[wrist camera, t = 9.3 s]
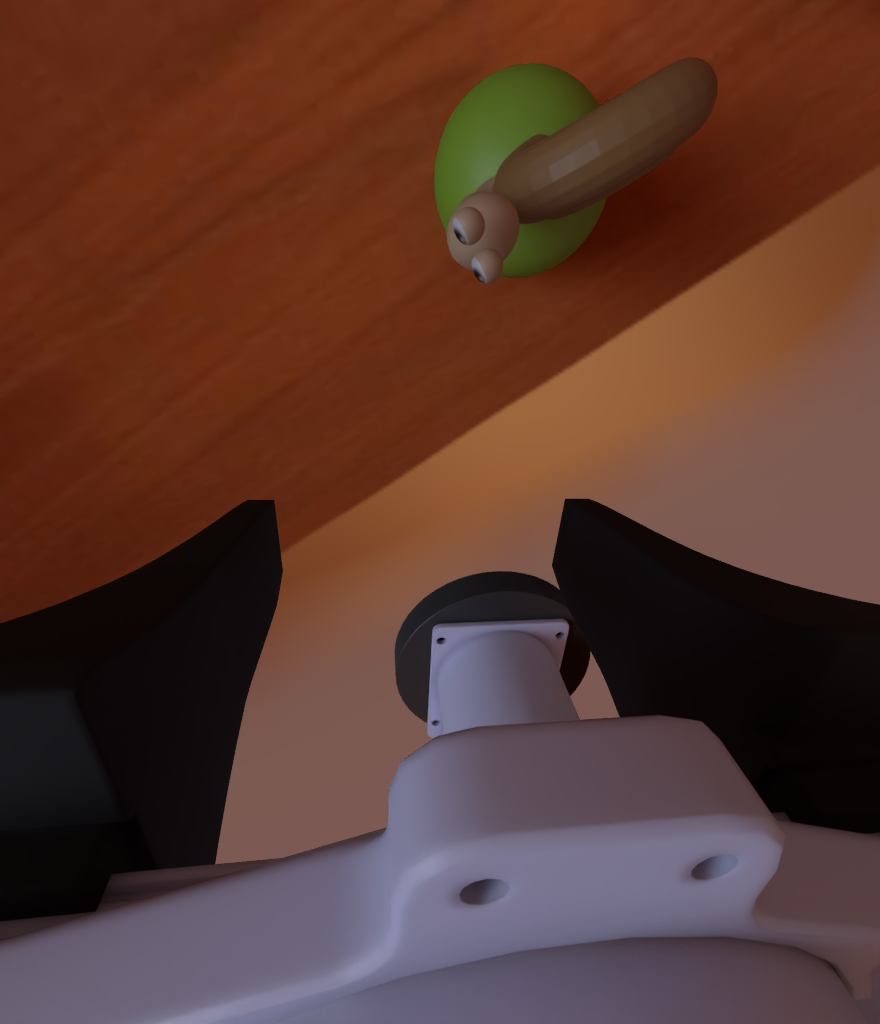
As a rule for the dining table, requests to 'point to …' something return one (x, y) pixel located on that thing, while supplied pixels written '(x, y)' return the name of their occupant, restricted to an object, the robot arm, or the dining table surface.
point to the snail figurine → (553, 159)
